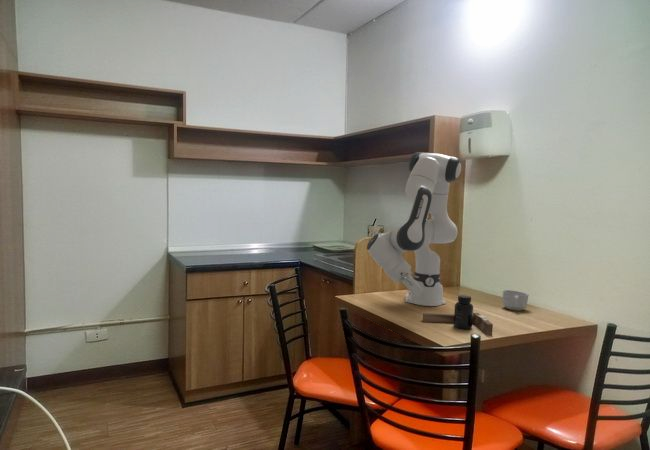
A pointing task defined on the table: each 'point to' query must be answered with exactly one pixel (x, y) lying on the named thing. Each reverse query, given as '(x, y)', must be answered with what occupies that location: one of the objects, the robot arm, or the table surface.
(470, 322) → the supplement bottle
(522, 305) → the teacup
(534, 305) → the table surface
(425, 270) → the robot arm
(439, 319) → the rack
